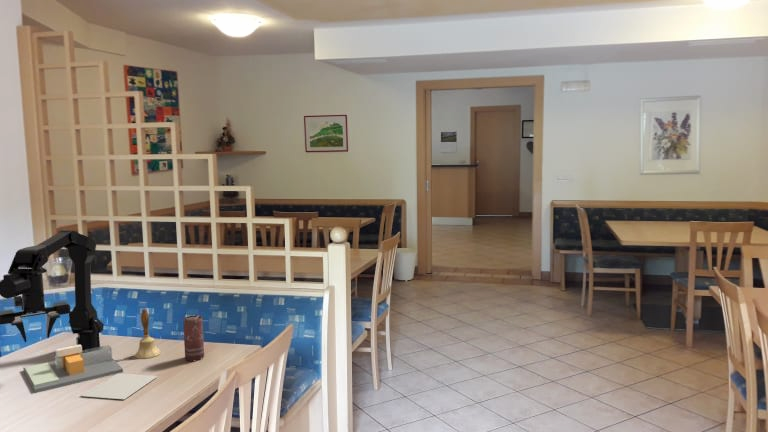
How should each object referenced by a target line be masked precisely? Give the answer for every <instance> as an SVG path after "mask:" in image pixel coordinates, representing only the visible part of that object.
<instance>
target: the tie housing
mask: <svg viewBox="0 0 768 432" xmlns="http://www.w3.org/2000/svg"><path fill="white" fill-rule="evenodd" d="M79 355H80V356H81V358H82V359H83V361H84V366H88V365H93V364H97V363H102V362H106V361H110V360H112V358H113V352H112V346H110V345H109V344H106V345H100V347H97V348H92V349H87V350H82V352H80V353H79ZM54 361H55V369H56V371H57V372H61V371H63V360H62V357H57V356H56V355H55V356H54Z"/></svg>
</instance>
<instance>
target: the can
mask: <svg viewBox="0 0 768 432" xmlns="http://www.w3.org/2000/svg"><path fill="white" fill-rule="evenodd" d="M182 322H183V340H184V341H183V342H184V343H183V344H184V358H185V360H186V361H188V360H197V361H200V360H199V359H201V358H202V359H204V358H205V348H204V347H205V343H204V325H203V324H204V323H203V317H202V316H201V315H189V316H186V317H184V318H183V321H182ZM202 359H201V360H202Z"/></svg>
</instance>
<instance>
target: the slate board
mask: <svg viewBox="0 0 768 432" xmlns="http://www.w3.org/2000/svg"><path fill="white" fill-rule="evenodd" d="M47 363H48V364H49V365H50V367H51V368H52V370H53V371H54V373H55V374H56V375H57V377H58V378H59V380H58V381H54V382H50V383H45V384H41V385H37V386H34V384H33V382H32V380H31V379H30V377H29V375H28V373H27V371H26V370H25V367H26V366H25V367H23V368H22V369H23V372H24V375H25V376H26V379H27V380H28V382H29V384H30V386H31V387H32V390H33V392H34V393H41V392H44V391H49V390H53V389H57V388H61V387H65V386H70V385H75V384H77V383H78V384H79V383H83V382H87V381H89V380H90V381H91V380H94V379H98V378H103V377H107V376H113V375H115V374H117V373H120V374H122V373H123V372H124V368H123V367H122V366H120V364H119V363H118V362H117V361H115V359H114V358H113V357H112V360H110V361H106V362H102V363H97V364H93V365H88V366H84V372H83V373H79V374H74V375H69V374H68V372H67V371H66V369H65V368H64V367H63V371H61V372H57V371H56V369H55V360H54V361H49V362H48V361H47ZM39 364H40V363H39ZM39 364H37V365H39Z"/></svg>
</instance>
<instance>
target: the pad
mask: <svg viewBox="0 0 768 432" xmlns="http://www.w3.org/2000/svg"><path fill="white" fill-rule="evenodd" d="M25 370H26V371H27V373H28V375H29V377H30V379H31V380H32V382H33V384H34V386H37V385H41V384H45V383H50V382H54V381H58V380H59V378H58V377H57V375H56V374H55V373H54V371H53V370H52V368H51V367H50V365H49V364H48V362H44V363H43V362H42V363H39V365H38V364H34V365H29V366H25Z"/></svg>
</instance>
